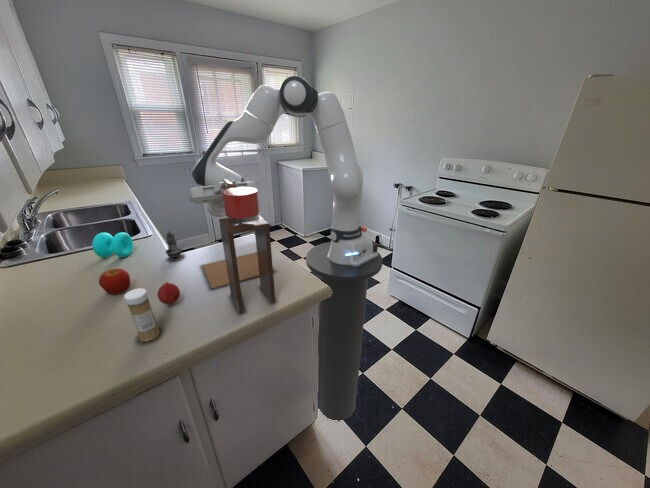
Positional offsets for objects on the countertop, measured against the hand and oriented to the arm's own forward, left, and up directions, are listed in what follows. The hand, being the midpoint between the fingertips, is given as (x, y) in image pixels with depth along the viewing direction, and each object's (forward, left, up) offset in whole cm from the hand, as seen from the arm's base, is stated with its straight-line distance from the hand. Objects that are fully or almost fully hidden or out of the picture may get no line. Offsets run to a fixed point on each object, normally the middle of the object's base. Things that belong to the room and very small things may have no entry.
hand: (228, 184), depth 80 cm
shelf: (0, +12, -34) cm, 36 cm away
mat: (-1, -9, -34) cm, 35 cm away
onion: (+22, +2, -34) cm, 41 cm away
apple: (+36, -14, -34) cm, 51 cm away
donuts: (+38, -44, -34) cm, 67 cm away
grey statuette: (+18, -30, -34) cm, 49 cm away
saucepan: (0, +6, -5) cm, 8 cm away
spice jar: (+28, +14, -34) cm, 46 cm away
